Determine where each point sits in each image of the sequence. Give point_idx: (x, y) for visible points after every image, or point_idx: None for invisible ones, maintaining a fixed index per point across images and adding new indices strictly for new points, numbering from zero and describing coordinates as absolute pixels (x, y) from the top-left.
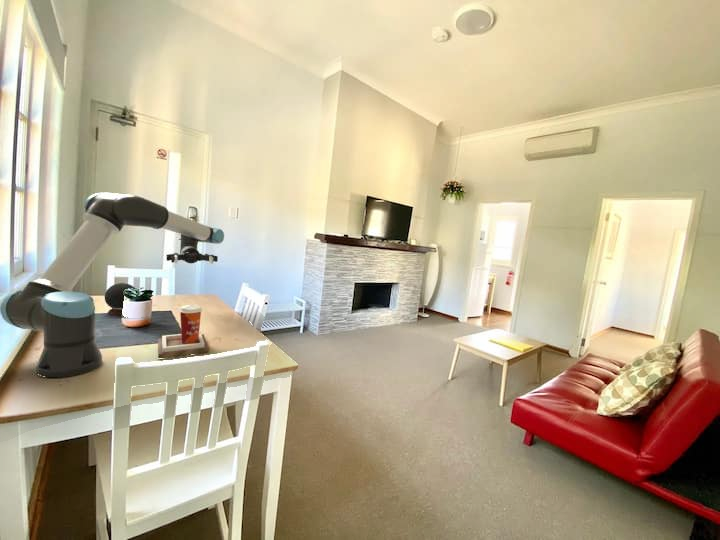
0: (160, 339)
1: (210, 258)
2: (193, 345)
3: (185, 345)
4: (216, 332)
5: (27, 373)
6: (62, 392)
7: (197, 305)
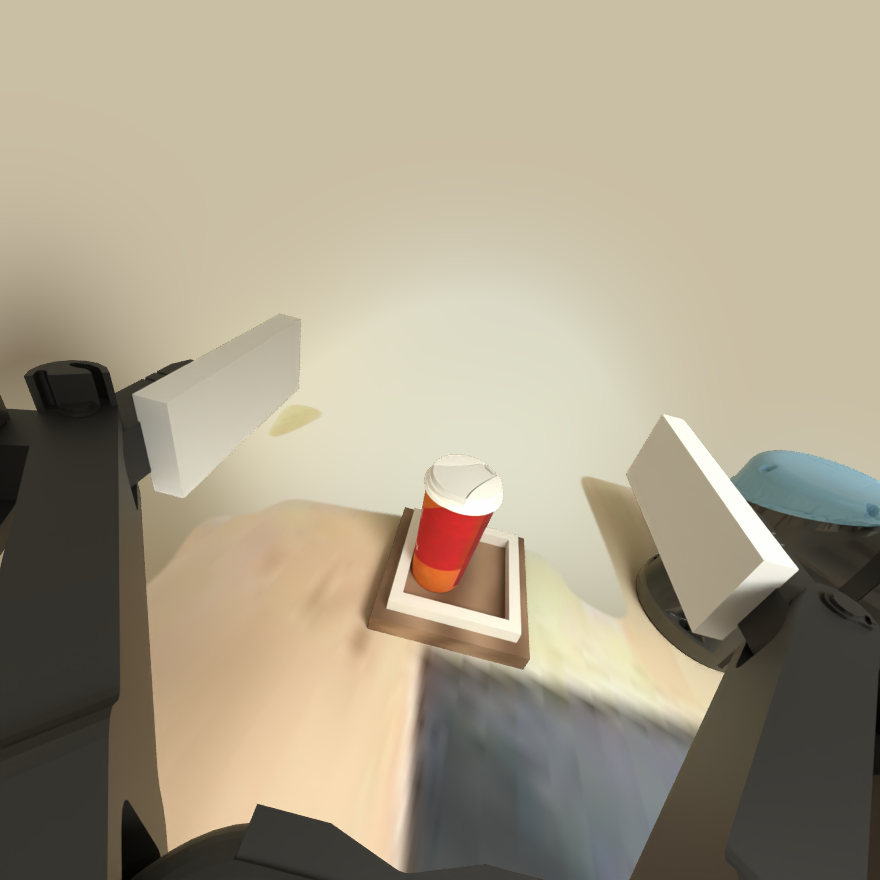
0: (521, 645)
1: (262, 364)
2: None
3: None
4: (278, 680)
5: None
6: None
7: (438, 482)
